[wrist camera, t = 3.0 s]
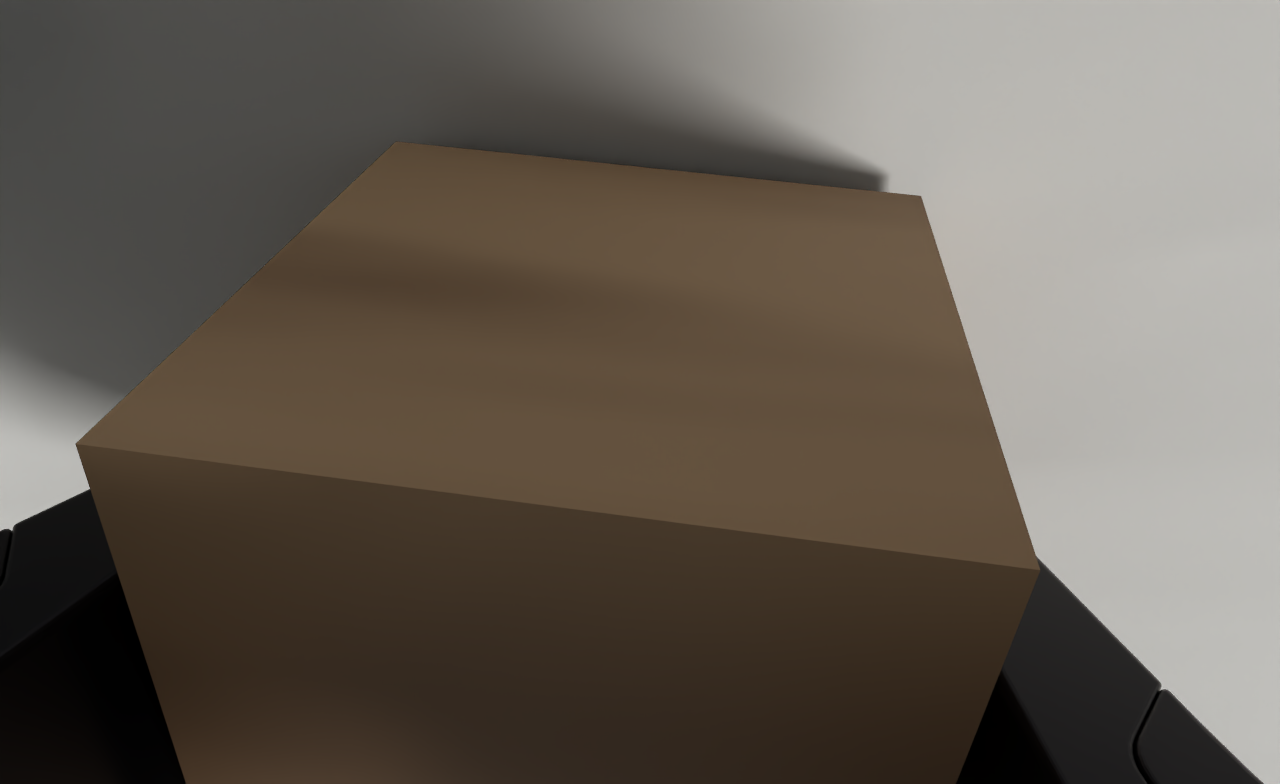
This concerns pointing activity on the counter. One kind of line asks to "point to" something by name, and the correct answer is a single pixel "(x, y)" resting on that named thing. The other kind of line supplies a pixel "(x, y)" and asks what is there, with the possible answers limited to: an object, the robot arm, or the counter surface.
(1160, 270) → the counter surface
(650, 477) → the brown metallic block
